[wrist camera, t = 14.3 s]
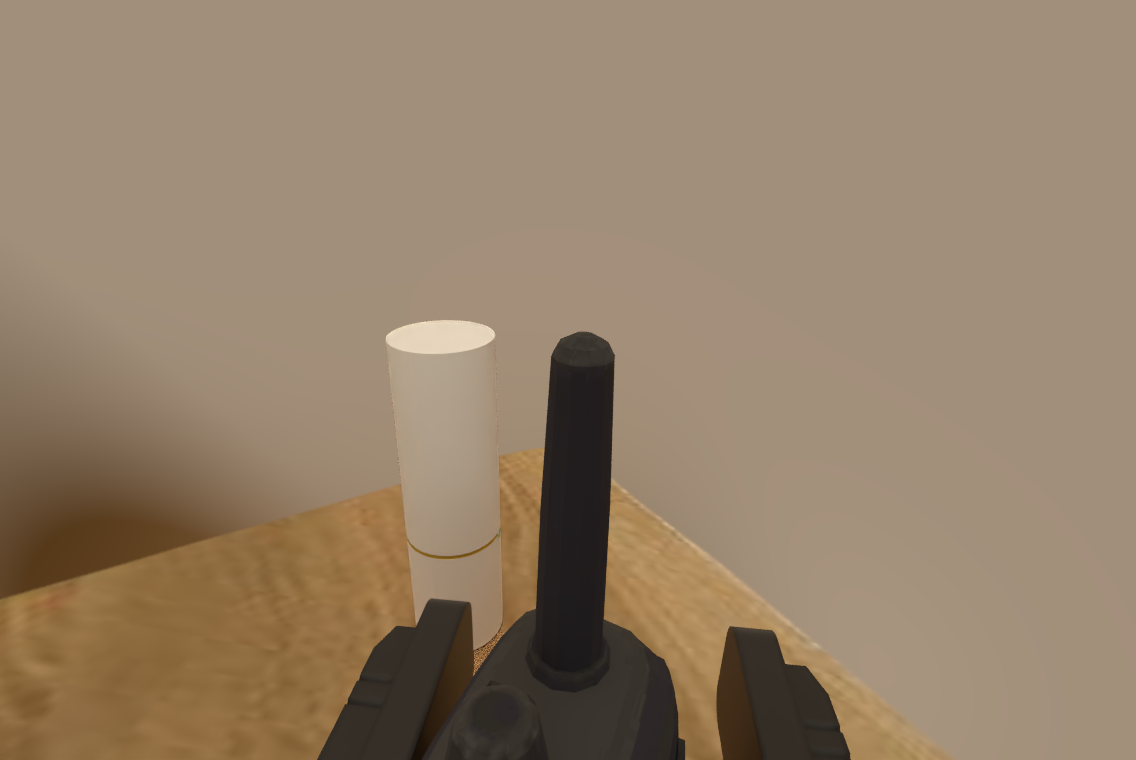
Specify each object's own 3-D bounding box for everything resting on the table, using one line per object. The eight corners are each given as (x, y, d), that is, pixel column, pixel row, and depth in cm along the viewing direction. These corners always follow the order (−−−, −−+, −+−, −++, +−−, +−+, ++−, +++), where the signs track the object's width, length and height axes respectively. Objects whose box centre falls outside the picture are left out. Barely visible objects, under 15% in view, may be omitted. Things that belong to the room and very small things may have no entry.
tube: (481, 664, 26) (466, 359, 20) (399, 641, 27) (362, 346, 21) (515, 598, 30) (511, 326, 24) (442, 580, 31) (421, 315, 25)
